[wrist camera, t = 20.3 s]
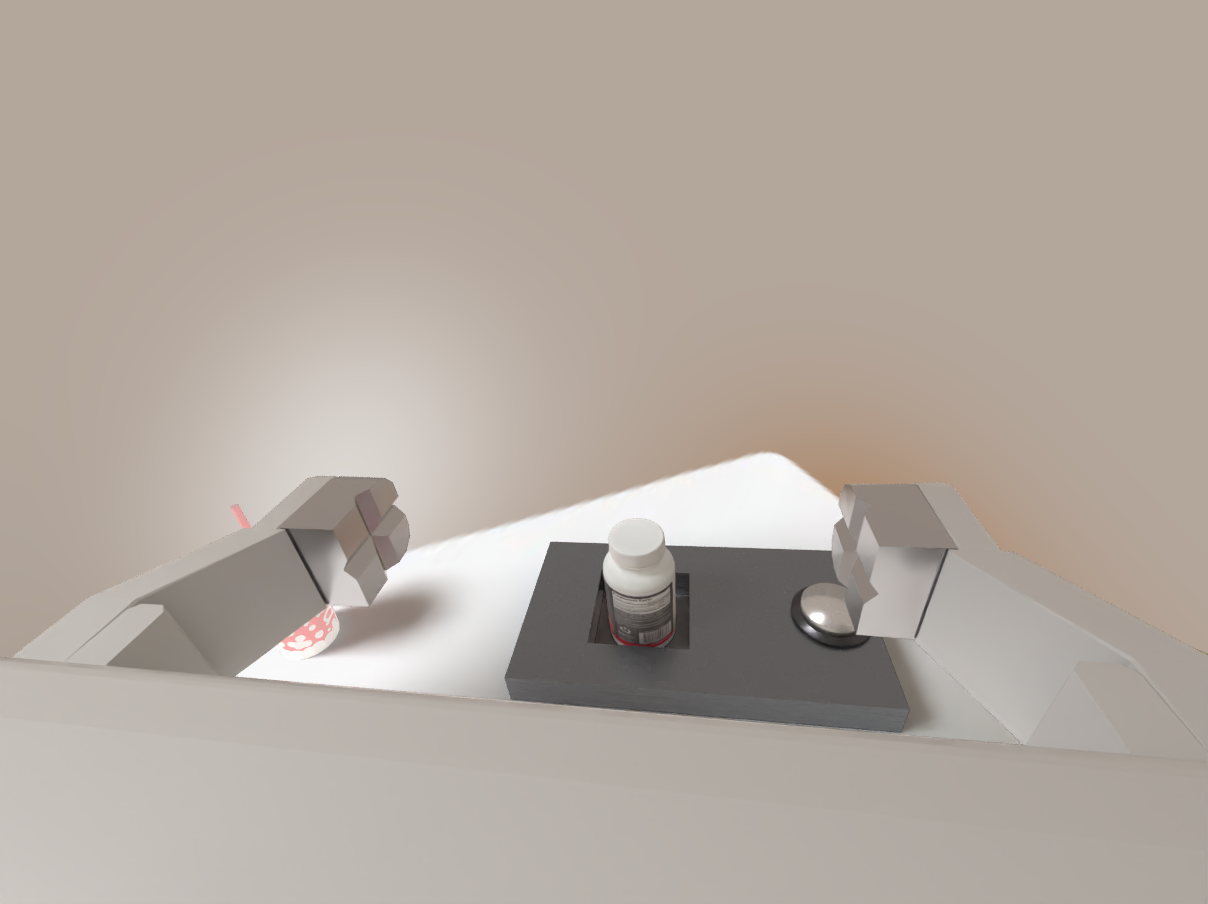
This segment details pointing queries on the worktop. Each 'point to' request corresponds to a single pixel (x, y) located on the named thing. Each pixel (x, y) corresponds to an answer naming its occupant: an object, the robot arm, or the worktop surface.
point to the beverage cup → (312, 633)
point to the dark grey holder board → (712, 643)
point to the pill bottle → (640, 585)
